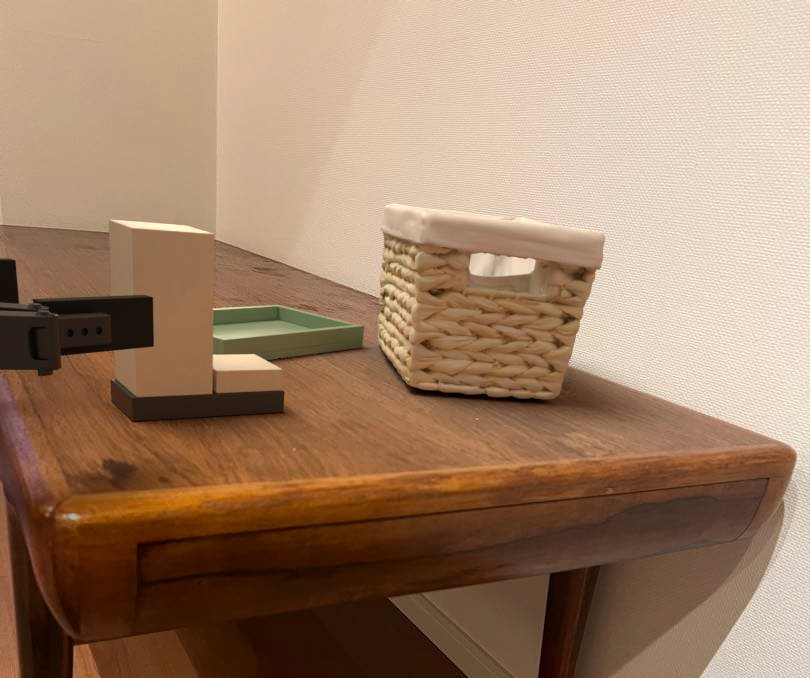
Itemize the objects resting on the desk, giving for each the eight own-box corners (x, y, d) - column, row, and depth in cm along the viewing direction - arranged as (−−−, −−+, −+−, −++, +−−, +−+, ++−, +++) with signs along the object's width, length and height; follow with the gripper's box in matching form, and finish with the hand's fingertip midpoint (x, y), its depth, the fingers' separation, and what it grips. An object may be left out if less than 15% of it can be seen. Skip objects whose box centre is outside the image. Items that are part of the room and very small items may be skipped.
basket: (366, 341, 87) (380, 197, 81) (505, 353, 90) (528, 216, 84) (398, 397, 66) (419, 208, 60) (578, 410, 69) (616, 232, 63)
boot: (132, 421, 51) (126, 227, 46) (111, 401, 55) (103, 218, 50) (283, 412, 57) (292, 239, 53) (255, 394, 61) (261, 231, 56)
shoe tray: (132, 337, 75) (132, 313, 74) (277, 325, 90) (278, 304, 89) (223, 366, 68) (224, 339, 67) (362, 347, 83) (364, 325, 82)
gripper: (-461, 349, 38) (-26, 323, 55) (-273, 504, 26) (217, 411, 42) (-517, 182, 35) (-39, 208, 51) (-335, 267, 23) (220, 265, 39)
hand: (77, 299), depth 47 cm, fingers open, 13 cm apart
